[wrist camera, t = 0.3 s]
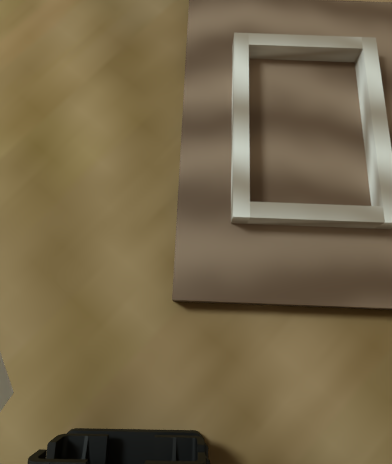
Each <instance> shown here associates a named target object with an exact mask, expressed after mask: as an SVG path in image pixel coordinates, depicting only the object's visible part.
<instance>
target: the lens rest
mask: <svg viewBox="0 0 392 464" xmlns="http://www.w3.org/2000/svg"><path fill="white" fill-rule="evenodd" d="M172 300H173V301H178V302H204V303H230V304H256V305H281V306H307V307H333V308H359V309H385V310H392V3H391V2H363V1H334V0H189V13H188V31H187V48H186V66H185V84H184V102H183V119H182V137H181V155H180V173H179V190H178V208H177V226H176V244H175V262H174V279H173V297H172Z"/></svg>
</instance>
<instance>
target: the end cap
mask: <svg viewBox="0 0 392 464" xmlns="http://www.w3.org/2000/svg"><path fill="white" fill-rule="evenodd" d="M46 451H47V455H46ZM28 464H210V461H209V459H208V446H207V445H206V443H205V442H204V438H203V437H202V435H201V434H200V433H199V432H198V431H195V430H140V429H82V428H75V429H72V430H70V431H69V432H68V433H67V434H61V435H58V436H56V437H55V438H54V439H52V440H51V441H50V442H49V443H48V446H47V450H38V451H37V452H35V453H34V454H33V455H32V456H30V457H29V458H28Z"/></svg>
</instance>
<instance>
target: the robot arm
mask: <svg viewBox="0 0 392 464" xmlns="http://www.w3.org/2000/svg"><path fill="white" fill-rule="evenodd" d="M13 393H14V392H13V389H12V386H11V383H10V380H9V377H8V374H7V371H6V368H5V365H4V362H3V359H2V356H1V353H0V411H1V410H2V408H3V407H4V406H5V404H6V403H7V401H8V400H9V398H10V397H11V396H12V394H13Z"/></svg>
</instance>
